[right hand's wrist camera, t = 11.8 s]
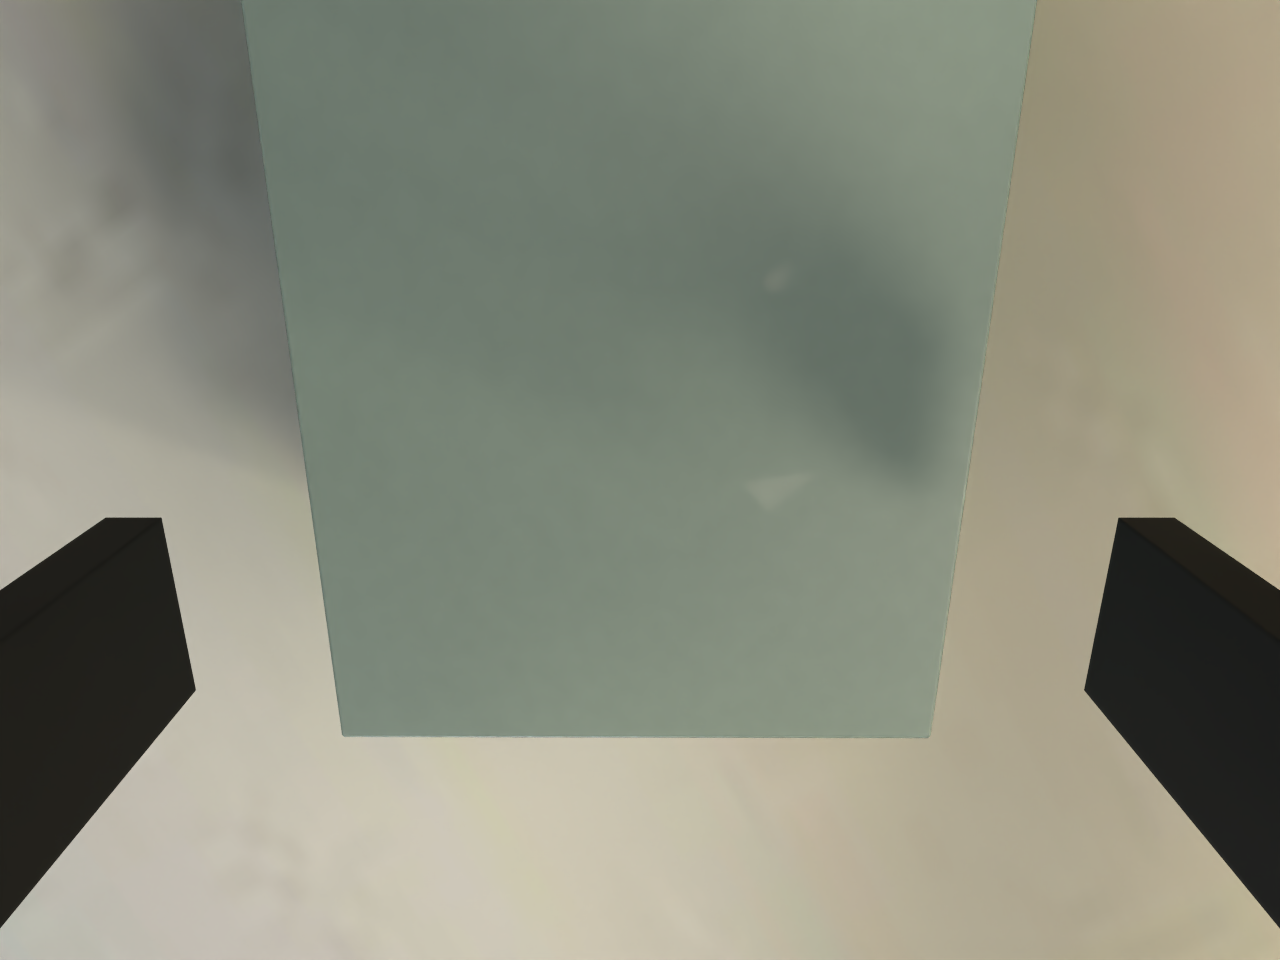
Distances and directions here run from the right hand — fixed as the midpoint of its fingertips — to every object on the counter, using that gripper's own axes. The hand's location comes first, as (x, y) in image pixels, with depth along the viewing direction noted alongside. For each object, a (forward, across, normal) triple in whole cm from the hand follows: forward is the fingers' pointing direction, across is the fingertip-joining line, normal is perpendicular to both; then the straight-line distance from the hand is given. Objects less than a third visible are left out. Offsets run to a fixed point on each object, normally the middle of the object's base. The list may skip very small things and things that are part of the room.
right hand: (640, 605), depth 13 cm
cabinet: (+13, 0, -5) cm, 14 cm away
